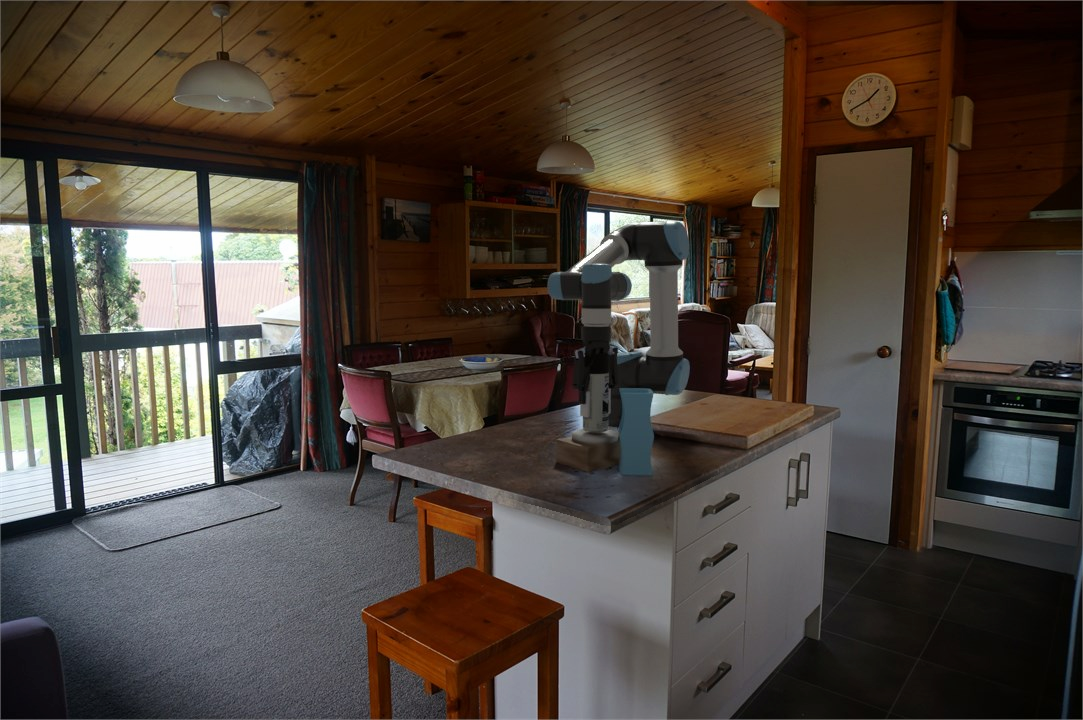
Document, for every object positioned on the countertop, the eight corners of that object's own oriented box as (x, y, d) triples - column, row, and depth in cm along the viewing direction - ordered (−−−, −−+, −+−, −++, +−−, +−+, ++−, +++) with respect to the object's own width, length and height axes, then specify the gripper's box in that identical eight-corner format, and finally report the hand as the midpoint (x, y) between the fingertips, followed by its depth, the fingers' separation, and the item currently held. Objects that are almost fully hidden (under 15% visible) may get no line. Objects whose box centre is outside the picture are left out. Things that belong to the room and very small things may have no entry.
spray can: (606, 433, 177) (608, 354, 175) (580, 432, 178) (581, 353, 176) (609, 427, 184) (610, 351, 181) (584, 426, 185) (584, 351, 183)
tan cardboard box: (601, 452, 192) (601, 425, 191) (633, 461, 182) (633, 433, 181) (556, 462, 182) (556, 433, 181) (587, 472, 172) (588, 442, 172)
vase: (617, 466, 178) (618, 388, 175) (649, 466, 177) (650, 388, 175) (620, 475, 170) (621, 393, 168) (653, 475, 170) (654, 393, 167)
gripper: (613, 322, 187) (612, 408, 190) (557, 326, 175) (556, 417, 177) (634, 324, 181) (632, 412, 184) (577, 327, 169) (576, 421, 172)
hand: (595, 414), depth 181 cm, fingers closed on spray can, 7 cm apart
